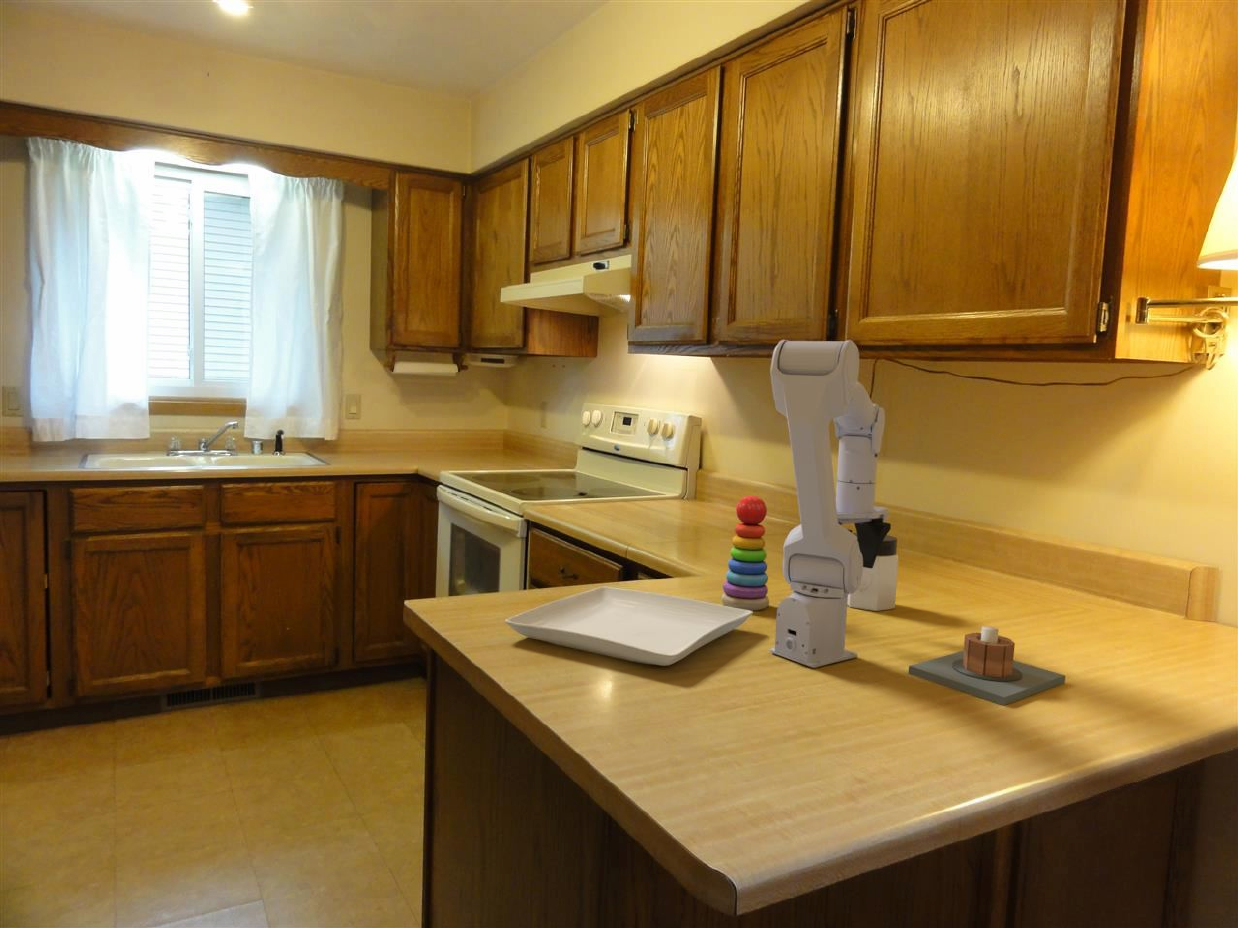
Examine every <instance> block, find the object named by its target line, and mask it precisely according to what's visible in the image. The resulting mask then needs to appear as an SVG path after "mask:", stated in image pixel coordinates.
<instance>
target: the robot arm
mask: <svg viewBox="0 0 1238 928" xmlns="http://www.w3.org/2000/svg"><path fill="white" fill-rule="evenodd" d="M769 368H770V370H769V373H770V374H769V375H770V381H771V389H772V395H773V398H772V399H773V400H774V406H775V410H776V411H777V412H778V413H780V414H781V415H782V416H784V417H785V418H786V419H787V426H788V433H789V434H788V435H789V441H790V448H791V457H792V463H793V464H792V465H793V473H794V479H795V487H796V488H795V489H796V495H797V504H798V512H799V519H800V520H799V521H800V524H798V525H797V526H795V527H794V528H792V530H790V532H788V535H787V537H786V538H785V540H784V544H783V546H782V548H783V549H782V551H783V559H782V574H783V578H784V580H785V581H786V582H787V584H789V585H790V591H793V592H792V593H791V594H790V595H789V596H787V597H785V598H783V599H782V600H781V601H780V602H779V604H778V607H777V609H776V622H775V639H774V641H775V642H774V647H771V648H769V652H770V653H772V654H774V655H777V656H780V657H782V658H785V659H788V660H791V661H794V662H796V663H799V664H801V665H804V666H807V667H809V668H813V669H815V668H818V667H823V666H826V665H830V664H834V663H839V662H843V661H847V660H850V659H853V658H858V655H859V654H858V652H855V651H852V650H849V649H846V648H845V647H846V646H845V645H846V633H847V631H846V630H847V616H848V605H847V602H848V595H849V594H852V593H854V592H855V591H856V590H857V589H858V587H859V585H860V582H861V578H862V571H863V567H866V568H873V566H874V563H875V560H876V557H877V554H878V551H879V548H880V546H881V544H882V542H883V540H884V538H885V536H886V535H888V534H889V532H890V531H891V530H892V529H891V527H892V526H891V525H892V524H891V523H890V522H888V521H889V508H888V507H882V506H881V507H880V506H875V503H876V502H875V498H876V486H877V485H876V483H877V470H878V457H879V455H878V453H880V452H881V448H882V439H883V436H884V431H885V424H886V415H885V413H886V412H885V409H884V407H882V406H879V404H878V403H873V402H872V401H873V400H871V398H870V395H869V394H868V392H867V390H866V388H865V386H864V385H863V384H862V383H861V382H859V380H858V378H859V374H860V373H859V372H860V353H859V348H858V347H857V345H856V344H855V343H854V341H853V340H851V339H848V340H847V339H846V340H845V341H841V340H840V341H835V340H834V341H832V340H831V341H830V340H829V341H827V340H825V341H823V340H822V341H820V340H817V341H816V340H814V341H813V340H809V341H807V340H789V339H782V340H780V341H779V342H778V344H777V345H776V346H775V347H774V349H773V352H772V357H771V364H770V367H769ZM832 421H833V425H834V433H835V437H836V439H838V441H839V442H838V454H837V455H838V457H837V458H838V459H837V471H836V473H837V474H836V475H837V476H836V486H835V478H834V471H833V470H834V468H833V460H832V459H833V458H832V450H831V449H832V448H831V439H830V438H831V437H830V428H829V427H830V426H829V425H830V423H831V422H832ZM835 487H836V491H835ZM886 521H887V522H886ZM846 524H847V525H848V524H849V525H850V524H854V528H855V533H857V537H858V541H857V537H856V536H855V535H854V534H852V533H854V532H853V531H854V530H852V529H848V528H846V527H844V526H843V525H846Z"/></svg>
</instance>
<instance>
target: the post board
mask: <svg viewBox="0 0 1238 928" xmlns="http://www.w3.org/2000/svg"><path fill="white" fill-rule="evenodd" d="M980 633H981V641H984V642H988V643H998V635H999V628H997V627H993V626H982V627H981V632H980ZM963 654H964V650H960V651H958V652H954V653H950V654H946V655H943V656H939V657H935V658H932V659H929V660H924V661H922V662H918V663H914V664H911V665H909V666H908V674H910V675H912V676H915V677H918V678H921V679H923V680H928V681H930V682H933V683H936V684H939V685H942V686H945V687H948V688H950V689H954V690H956V691H960V692H963V693H965V694H969V695H971V696H975V697H977V698H981V699H983V700H986V701H989V702H992V703H994V704H998V705H1002V706H1006V705H1009V704H1011V703H1014V702H1017V701H1020V700H1022V699H1024V698H1028V697H1030V696H1032V695H1035V694H1039V693H1041V692H1044V691H1046V690H1049V689H1052V688H1055V687H1057V686H1061V685H1062V684H1065V683H1066V674H1065V675H1064V674H1062V673H1059V672H1055V671H1052V670H1048V669H1045V668H1041V667H1037V666H1036V665H1035V666H1034V665H1031V664H1027V663H1025V662H1022V661H1021V662H1020V661H1018V660H1015V659H1013V670H1012V674H1011V675H1008V676H1005V677H995V676H985V675H980V674H977V673H974V672H971V671H968V670H966V668H965V667H964V666H963Z"/></svg>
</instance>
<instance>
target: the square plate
mask: <svg viewBox="0 0 1238 928" xmlns="http://www.w3.org/2000/svg"><path fill="white" fill-rule="evenodd" d="M753 614H754V611H750V610H744V609H739V608H733V607H728V606H725V605H724V604H717V603H713V602H707V601H703V600H698V599H692V598H687V597H682V596H676V595H675V596H674V595H669V594H663V593H659V592H649V591H643V590H635V589H627V588H619V587H612V586H604V585H603V586H599V587H596V588H592V589H591V590H590V589H589V590H586V591H583V592H580V593H579V592H578V593H576V594H573V595H568V596H567V597H563V598H560V599H556V600H554V601H550V602H547V603H545V604H542V605H539V606H537V607H535V608H532V609H528V610H526V611H524V612H523V611H522V612H521V613H519V614H516V615H513V616H510V617H508V618H505V620H504V623H505V624H506V625H508V626H510V627H511V629H512V630H513V631H514V632H516V633H518V634H520V635H522V636H524V637H527V638H531V639H534V640H538V641H542V642H547V643H550V644H554V645H557V646H562V647H566V648H570V649H575V650H579V651H584V652H590V653H593V654H598V655H601V656H602V655H603V656H607V657H611V658H616V659H619V660H624V661H628V662H629V661H630V662H633V663H638V664H646V665H654V666H655V665H656V666H662V667H663V666H664V667H665V666H667V667H668V666H670V665H673V664H675V663H677V662H679V661H680V660H682V659H684V658H686V657H688V656H689V655H690V654H692V653H693V652H695V651H697V650H698V649H700V648H701V647H703V646H705V645H707V644H709V643H711V642H712V641H714V640H716V639H718V638H719V637H722V636H724V635H725V634H728V633H730V632H732V631H733V630H735V629H737V628H738V627H740V626H742V625H743V624H744V623H745V622H746V621H747V620H748V618H749V617H750V616H752V615H753Z"/></svg>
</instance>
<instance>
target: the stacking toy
mask: <svg viewBox="0 0 1238 928" xmlns="http://www.w3.org/2000/svg"><path fill="white" fill-rule="evenodd" d="M767 509H768V508H767V505H766V503H765V501H764V500H763V499H762V498H761V497H759V496H756V495H746V496H744V497H742V498H741V499H740V500H739V501H738V502H737V504H736V509H735V510H736V511H735V513H736V516H737V518H738V519H739V521H740V522H739V523H738V524H736V525H735V526H734V527H735V528H734V532H735V534H736V535H734V536H733V537H732V539H731V542H732V545H733V547H732V548H731V549H730V556H731V557H732V558H730V559H729V560H728V569H729V570H727V572H726V574H725V578H726V580H727V581H725V582H724V583H723V585H722V591H723V592H724V593H722V594H721V603H722V605H723V606H728V607H733V608H739V609H744V610H750V611H753V612H754V611H755V612H756V611H761V610H764V609H766V608H767V607H769V604H770V599H769V597H768V595H767V594H768V592H769V588H768V586H767V582H768V580H769V576H768V574H767V573H766V572H767V570H768V564H767V563H766V561H765V560H766V559H767V551H766V550H765V549H764V548H765V546H766V540H765V539H764V538H763V536H765V534H766V528H765V526H763V525H762V524H761V523H762V522H763V521H764V520H765V518H766V517H767V513H768V512H767V511H768V510H767Z"/></svg>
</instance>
